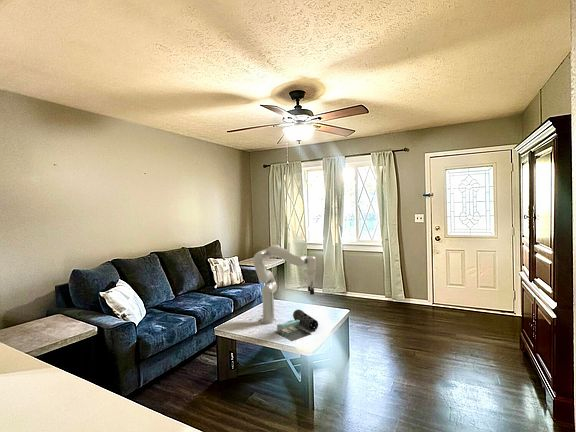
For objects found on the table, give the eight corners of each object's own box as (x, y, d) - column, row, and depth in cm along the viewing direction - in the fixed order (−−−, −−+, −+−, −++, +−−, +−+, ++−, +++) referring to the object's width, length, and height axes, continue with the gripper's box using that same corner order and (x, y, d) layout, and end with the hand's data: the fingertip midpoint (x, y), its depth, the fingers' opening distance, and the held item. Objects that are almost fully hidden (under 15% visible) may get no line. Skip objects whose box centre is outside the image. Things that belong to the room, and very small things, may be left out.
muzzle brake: (307, 333, 238) (307, 320, 238) (292, 321, 264) (291, 309, 264) (318, 331, 242) (318, 318, 242) (302, 320, 268) (302, 308, 268)
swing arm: (279, 333, 236) (279, 326, 235) (276, 331, 238) (276, 325, 238) (300, 326, 249) (300, 319, 249) (297, 324, 252) (297, 318, 252)
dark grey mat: (273, 333, 239) (273, 331, 239) (293, 326, 252) (293, 325, 252) (291, 342, 222) (291, 340, 222) (312, 335, 235) (312, 333, 235)
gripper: (304, 269, 261) (304, 290, 261) (308, 274, 244) (308, 296, 244) (313, 269, 262) (313, 289, 262) (317, 274, 245) (317, 295, 245)
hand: (310, 292), depth 253 cm, fingers open, 9 cm apart
